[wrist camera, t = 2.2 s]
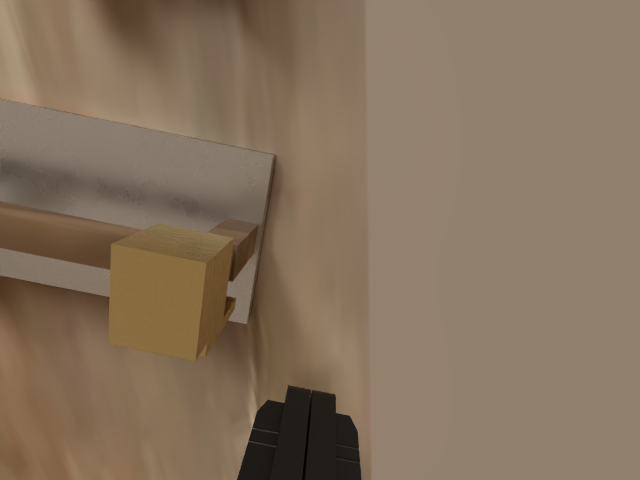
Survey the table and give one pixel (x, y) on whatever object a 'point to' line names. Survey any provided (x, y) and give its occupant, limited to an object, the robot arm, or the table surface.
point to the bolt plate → (125, 187)
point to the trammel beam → (95, 236)
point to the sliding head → (169, 290)
